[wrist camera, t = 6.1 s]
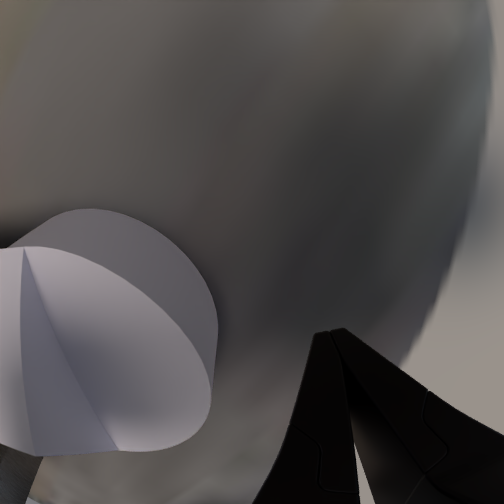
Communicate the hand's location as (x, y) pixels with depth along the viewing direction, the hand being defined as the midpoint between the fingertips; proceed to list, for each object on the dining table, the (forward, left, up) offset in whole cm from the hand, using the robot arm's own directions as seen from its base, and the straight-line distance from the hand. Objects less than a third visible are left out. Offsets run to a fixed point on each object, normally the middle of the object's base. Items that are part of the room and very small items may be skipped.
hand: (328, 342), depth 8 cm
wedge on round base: (0, +10, -3) cm, 10 cm away
